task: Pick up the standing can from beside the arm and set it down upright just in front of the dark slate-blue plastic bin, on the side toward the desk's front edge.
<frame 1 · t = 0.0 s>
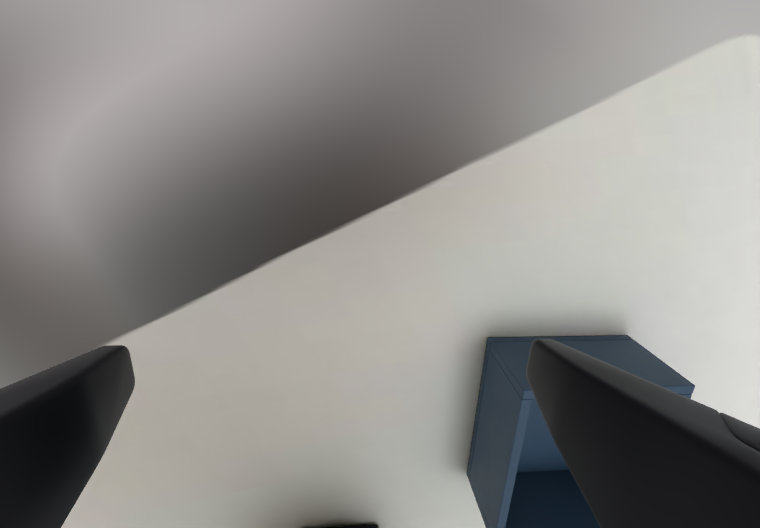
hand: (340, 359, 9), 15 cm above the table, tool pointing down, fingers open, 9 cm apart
bin: (542, 408, 29), on the table
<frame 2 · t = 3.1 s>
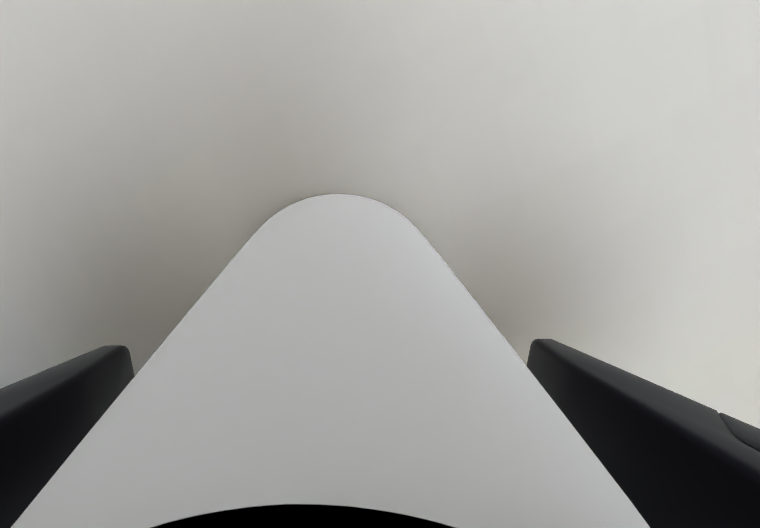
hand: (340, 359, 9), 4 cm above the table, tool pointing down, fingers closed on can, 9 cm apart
can: (340, 286, 13), on the table, touching gripper
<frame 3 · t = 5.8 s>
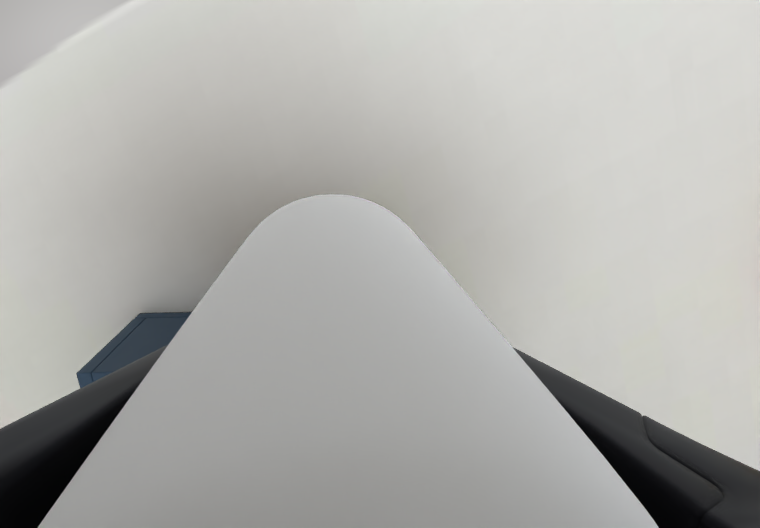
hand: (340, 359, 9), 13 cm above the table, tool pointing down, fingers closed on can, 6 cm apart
bin: (259, 385, 24), on the table
can: (334, 284, 13), point 8 cm above the table, touching gripper
when the fingers open (5 cm above the table, at t = 8.6 s): can stays where it is, on the table.
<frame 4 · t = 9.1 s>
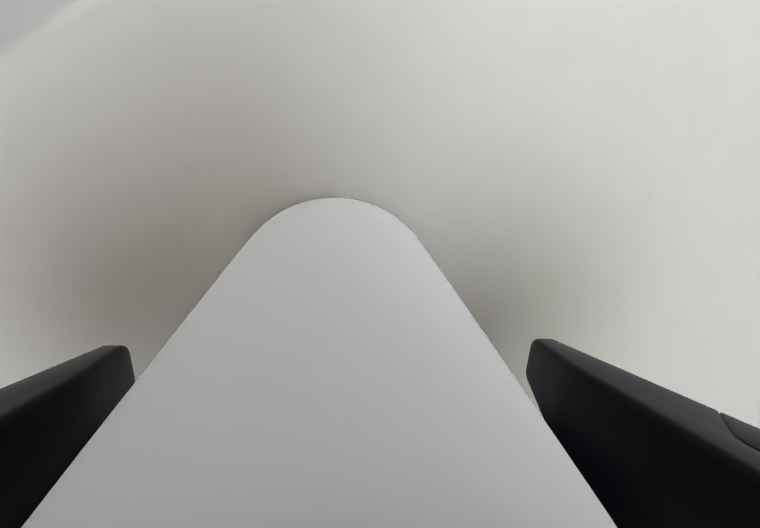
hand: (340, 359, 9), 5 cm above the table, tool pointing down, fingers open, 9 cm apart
can: (336, 288, 13), on the table
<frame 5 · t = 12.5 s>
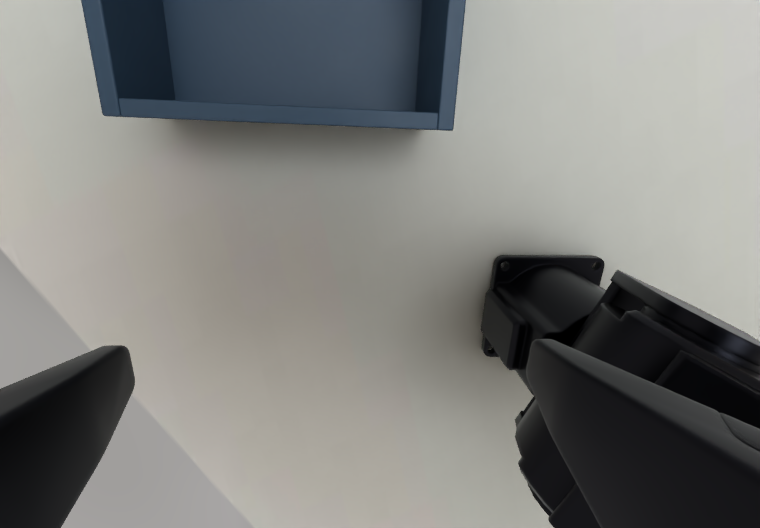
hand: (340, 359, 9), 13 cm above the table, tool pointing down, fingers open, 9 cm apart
bin: (297, 1, 17), on the table
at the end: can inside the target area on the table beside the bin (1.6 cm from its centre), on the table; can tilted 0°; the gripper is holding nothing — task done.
